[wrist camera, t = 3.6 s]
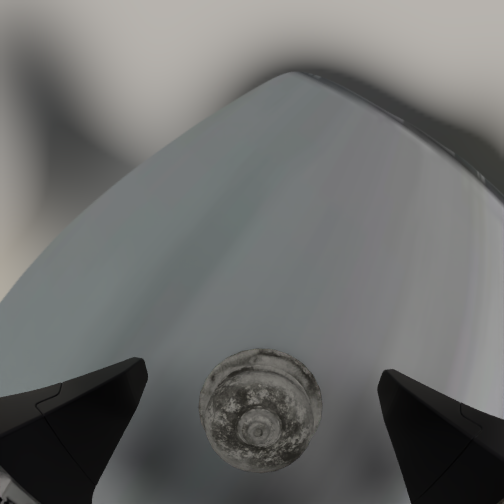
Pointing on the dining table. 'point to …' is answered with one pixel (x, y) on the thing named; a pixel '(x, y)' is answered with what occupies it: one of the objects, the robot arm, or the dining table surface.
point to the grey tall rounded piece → (260, 409)
